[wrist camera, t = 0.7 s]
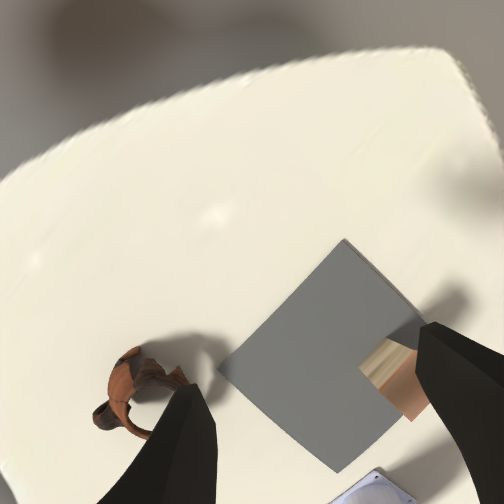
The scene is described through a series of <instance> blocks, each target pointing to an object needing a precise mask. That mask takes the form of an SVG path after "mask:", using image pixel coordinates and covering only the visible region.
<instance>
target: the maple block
mask: <svg viewBox="0 0 504 504" xmlns="http://www.w3.org/2000/svg"><path fill="white" fill-rule="evenodd" d="M416 359H417V351H416V350H412V349H410V348H408V347H405V346H403V345H401V344H399V343H396V342H394V341H392V340H390V339H388V338H384V339H383V341H382V342H381V343H380V344H379V345H378V346H377V347H376V348H375V349H374V350H373V352H372V353H371V354H370V355H369V356H368V357H367V358H366V359H365V360H364V361H363V362H362V363H361V364H360V365H359V366H358V368H359V369H360V370H361V371H362V372H363V373H364V374H365V376H366V377H367V378H368V379H369V380H370V381H371V382H372V384H373V385H374V386H375V387H376V388H377V389H378V391H379V392H380V393H381V394H382V395H383V396H384V397H385V398H386V399H387V400H388V401H389V402H390V403H391V404H392V405H394V406H395V407H396V408H397V409H398V410H399V411H400V412H401V413H402V414H403V415H404V416H405V417H407V418H408V419H409V420H410V421H411V422H412V421H413V420H414V419H415V418H416V417H417V416H418V415H419V414H420V413H421V412H422V411H423V410H424V409H425V407H426V406H427V405H428V404H429V403H430V401H429V400H428V398H427V397H426V395H425V393H424V391H423V389H422V387H421V385H420V382H419V380H418V378H417V376H416V374H415V367H416Z"/></svg>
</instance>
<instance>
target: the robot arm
mask: <svg viewBox="0 0 504 504" xmlns="http://www.w3.org/2000/svg"><path fill="white" fill-rule="evenodd" d="M415 374H416V376H417V378H418V380H419V382H420V385H421V387H422V389H423V391H424V393H425V395H426V397H427V398H428V400H429V401H430V403H431V404H432V406H433V407H434V409H435V411H436V412H437V414H438V415H439V417H440V418H441V420H442V421H443V423H444V424H445V426H446V428H447V429H448V431H449V432H450V434H451V435H452V437H453V439H454V440H455V442H456V444H457V445H458V447H459V449H460V451H461V453H462V456H463V458H464V460H465V462H466V465H467V467H468V469H469V472H470V475H471V477H472V480H473V483H474V485H475V488H476V491H477V494H478V498H479V501H480V504H504V355H502V354H500V353H498V352H495V351H493V350H491V349H489V348H487V347H485V346H483V345H481V344H479V343H477V342H475V341H473V340H471V339H469V338H467V337H465V336H463V335H461V334H459V333H458V332H456V331H454V330H452V329H450V328H448V327H446V326H444V325H442V324H439V323H437V322H433V323H430V324H428V325H425V326H422V327H420V333H419V343H418V351H417V359H416V367H415ZM217 459H218V447H217V434H216V423H215V421H214V419H213V417H212V415H211V413H210V411H209V409H208V407H207V405H206V403H205V400H204V398H203V396H202V394H201V392H200V390H199V388H198V385H197V384H190V385H183V386H178V387H177V388H176V390H175V392H174V394H173V395H172V397H171V399H170V401H169V403H168V405H167V407H166V408H165V410H164V412H163V414H162V416H161V417H160V419H159V421H158V423H157V424H156V426H155V428H154V429H153V431H152V433H151V434H150V436H149V438H148V439H147V441H146V443H145V444H144V446H143V447H142V449H141V450H140V452H139V453H138V455H137V456H136V457H135V459H134V460H133V462H132V463H131V465H130V466H129V467H128V469H127V470H126V471H125V473H124V474H123V475H122V476H121V478H120V479H119V480H118V481H117V482H116V484H115V485H114V486H113V487H112V488H111V489H110V490H109V491H108V493H107V494H106V495H105V496H104V497H103V498H102V499H101V500H100V501H99V502H98V503H97V504H216V482H217ZM375 476H378V477H376V478H375ZM409 500H410V501H409ZM417 503H418V502H417V500H415V499H414V498H413V497H411V496H410V495H408V494H407V493H406V492H404V491H403V490H402V489H400V488H399V487H397V486H396V485H395V484H393V483H392V482H391V481H389V480H388V479H387V478H385V477H384V476H383V475H381V474H380V473H379V472H377V471H372V472H370V473H369V474H368V475H367V476H366V477H364V478H363V479H362V480H361V481H359V482H358V483H357V484H355V485H354V486H353V487H352V488H350V489H349V490H348V491H346V492H345V493H344V494H342V495H341V496H339V497H338V498H337V499H335V500H334V501H332V502H331V503H330V504H417Z"/></svg>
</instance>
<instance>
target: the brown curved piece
mask: <svg viewBox="0 0 504 504" xmlns="http://www.w3.org/2000/svg"><path fill="white" fill-rule="evenodd" d="M139 350H140V347H135V348H133V349H131V350H129V351H128V352H127V353H126V354H124V355H123V356H122V357H121V358H120V359H119V360H118V361H117V363H116V364H115V367H114V368H113V370H112V373H111V375H110V378H109V383H108V396H109V400H108V401H106V402H105V403H103V404H102V405H101V406H99V407H98V408H97V409H96V410H95V411H94V412H93V422H94V424H95V425H97V426H98V428H100V429H102V430H112V429H114V428H116V427H125V428H126V429H127V430H128V431H129V432H131V433H132V434H134V435H135V436H138V437H140V438H142V439H145V440H147V439H148V438H149V436H150V434H151V433H152V431H148V430H144V429H142V428H139V427H138V426H136V425H135V424H133V423H132V421H131V420H130V419H129V417H128V415H129V411H130V409H131V406H130V405H129V404H128V402H129V400H130V398H131V397H132V396H133V395H134V394H135V393H136V392H137V391H138V390H140V389H143V388H146V387H150V386H161V387H166V388H170V389H171V390H173V391H175V390H176V388H177V387H178V386H183V385H190V383H189V382H188V381H187V379H186V378H185V376H184V374H183V371H182V370H181V368H180V366H177V368H176V369H175V370H174V371H173V372H171V373H170V374H169V375H166V373H165V370H164V369H163V368H162V366H160V365H159V364H157V363H156V361H155V360H154V359H151V358H145V359H144V360H143V366H142V367H141V368H140V371H139V373H138V375H137V377H136V378H135V379H134V378H133V376H132V373H131V366H130V364H128V363H127V362H124V361H125V360H126V359H128V358H130V357H132V356H134V355H137V354H138V353H139Z"/></svg>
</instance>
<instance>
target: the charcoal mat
mask: <svg viewBox="0 0 504 504" xmlns="http://www.w3.org/2000/svg"><path fill="white" fill-rule="evenodd" d="M425 325H427V324H426V323H425V322H424V321H423V320H422V319H421V318H420V317H419V315H418V314H417V313H416V312H415V311H414V310H413V309H412V308H411V307H410V306H409V305H408V304H407V303H406V302H405V301H404V300H403V299H402V298H401V297H400V296H399V295H398V294H397V293H396V292H395V291H394V290H393V289H392V288H391V287H390V286H389V285H388V284H387V283H386V282H385V281H384V280H383V279H382V278H381V277H380V276H379V275H378V274H377V273H376V272H375V271H374V270H373V269H372V268H371V267H370V266H369V265H368V264H367V263H366V262H365V261H364V260H362V259H361V258H360V257H359V256H358V255H357V254H356V253H355V252H354V251H353V250H352V249H351V248H350V247H349V246H348V245H347V244H346V243H345V242H343V241H342V240H341V241H340V243H339V244H338V245H337V246H336V247H335V248H334V249H333V250H332V251H331V252H330V254H329V255H328V256H327V257H326V258H325V259H324V260H323V261H322V262H321V263H320V264H319V266H318V267H317V268H316V269H315V270H314V271H313V272H312V273H311V274H310V275H309V276H308V277H307V278H306V279H305V281H304V282H303V283H302V284H301V285H300V286H299V287H298V288H297V289H296V290H295V291H294V292H293V293H292V294H291V295H290V296H289V297H288V298H287V299H286V301H285V302H284V303H283V304H282V305H281V306H280V307H279V308H278V309H277V310H276V311H275V312H274V313H273V314H272V315H271V316H270V317H269V318H268V319H267V320H266V321H265V322H264V323H263V324H262V325H261V326H260V327H259V328H258V329H257V330H256V331H255V332H254V333H253V334H252V335H251V336H250V337H249V338H248V339H247V340H246V341H245V342H244V343H243V344H242V345H241V346H240V347H239V348H238V349H237V350H236V351H235V352H234V353H233V354H232V355H231V356H230V357H229V358H228V359H227V360H226V361H225V362H224V363H223V364H222V365H221V366H219V367H218V368H217V370H218V371H219V372H220V373H221V374H222V375H223V376H224V377H226V378H227V379H228V380H229V381H230V382H231V383H232V384H233V385H234V386H235V387H236V388H237V389H238V390H239V391H240V392H241V393H242V394H243V395H244V396H246V397H247V398H248V399H249V400H250V401H251V402H252V403H253V404H254V405H255V406H256V407H258V408H259V409H260V410H261V411H262V412H263V413H264V414H265V415H266V416H268V417H269V418H270V419H271V420H272V421H273V422H274V423H276V424H277V425H278V426H279V427H280V428H281V429H283V430H284V431H285V432H286V433H287V434H288V435H290V436H291V437H292V438H293V439H294V440H296V441H297V442H298V443H299V444H300V445H302V446H303V447H304V448H305V449H306V450H308V451H309V452H310V453H311V454H313V455H314V456H315V457H316V458H318V459H319V460H320V461H322V462H323V463H324V464H325V465H327V466H328V467H329V468H331V469H332V470H333V471H335V472H336V473H337V474H338V473H339V472H340V471H341V470H343V469H344V468H345V467H346V466H348V465H349V464H350V463H351V462H352V461H354V460H355V459H356V458H357V457H358V456H360V455H361V454H362V453H363V452H364V451H365V450H367V449H368V448H369V447H370V446H371V445H372V444H373V443H374V442H376V441H377V440H378V439H379V438H380V437H381V436H382V435H383V434H384V433H385V432H386V431H387V430H388V429H389V428H391V427H392V426H393V425H394V424H395V423H396V422H397V421H398V420H399V419H400V418H401V417H402V416H403V414H402V413H401V412H400V411H399V410H398V409H397V408H396V407H395V406H394V405H392V404H391V403H390V402H389V401H388V400H387V399H386V398H385V397H384V396H383V395H382V394H381V393H380V392H379V391H378V389H377V388H376V387H375V386H374V385H373V384H372V382H371V381H370V380H369V379H368V378H367V377H366V376H365V374H364V373H363V372H362V371H361V370H360V369H359V368H358V366H359V365H360V364H361V363H362V362H363V361H364V360H365V359H366V358H367V357H368V356H369V355H370V354H371V353H372V352H373V350H374V349H375V348H376V347H377V346H378V345H379V344H380V343H381V342H382V341H383V339H384V338H388V339H390V340H392V341H394V342H396V343H399V344H401V345H403V346H405V347H408V348H410V349H412V350H416V351H418V343H419V333H420V327H422V326H425Z"/></svg>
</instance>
